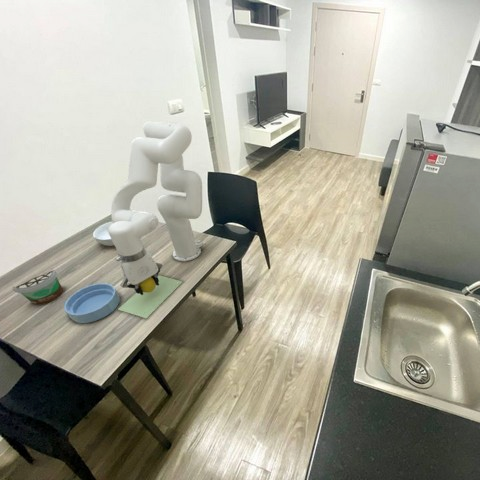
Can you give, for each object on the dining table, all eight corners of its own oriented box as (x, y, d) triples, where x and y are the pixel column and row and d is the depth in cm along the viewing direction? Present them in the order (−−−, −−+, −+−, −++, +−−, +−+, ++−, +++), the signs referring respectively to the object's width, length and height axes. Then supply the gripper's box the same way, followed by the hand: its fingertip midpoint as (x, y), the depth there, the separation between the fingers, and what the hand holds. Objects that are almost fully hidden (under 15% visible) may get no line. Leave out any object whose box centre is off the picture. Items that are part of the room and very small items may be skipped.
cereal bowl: (116, 228, 140) (111, 217, 136) (145, 233, 139) (141, 222, 134) (90, 248, 126) (83, 236, 122) (122, 253, 125) (116, 241, 121)
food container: (33, 312, 96) (16, 294, 90) (26, 305, 98) (10, 286, 93) (73, 292, 105) (60, 274, 99) (66, 285, 107) (53, 267, 101)
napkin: (157, 275, 115) (156, 274, 115) (182, 282, 113) (182, 281, 113) (117, 309, 100) (117, 309, 100) (146, 318, 98) (146, 318, 97)
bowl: (113, 286, 109) (108, 277, 106) (125, 307, 101) (120, 298, 98) (66, 306, 99) (60, 297, 96) (76, 331, 92) (69, 322, 89)
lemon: (151, 298, 102) (144, 283, 98) (138, 295, 103) (131, 280, 98) (161, 288, 107) (155, 273, 102) (149, 285, 107) (142, 271, 103)
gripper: (111, 270, 86) (131, 306, 96) (162, 246, 98) (174, 280, 108) (100, 261, 89) (120, 297, 99) (150, 238, 101) (163, 272, 111)
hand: (148, 288), depth 104 cm, fingers closed on lemon, 5 cm apart
